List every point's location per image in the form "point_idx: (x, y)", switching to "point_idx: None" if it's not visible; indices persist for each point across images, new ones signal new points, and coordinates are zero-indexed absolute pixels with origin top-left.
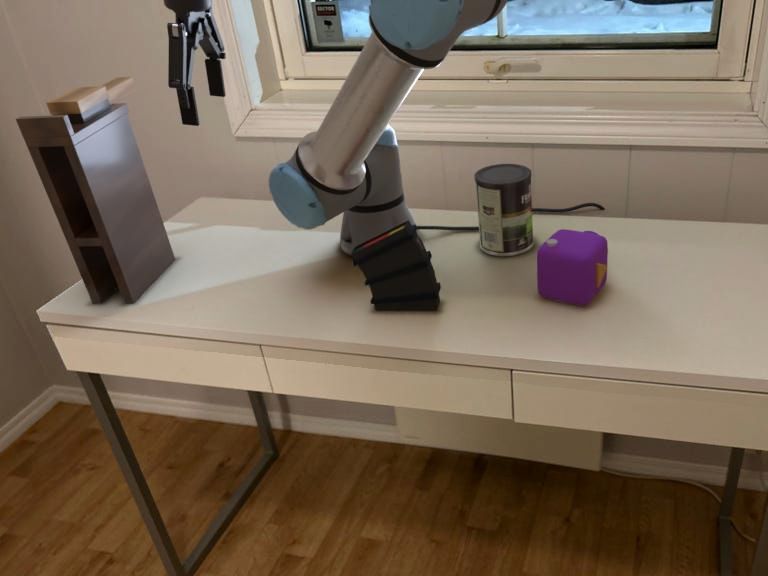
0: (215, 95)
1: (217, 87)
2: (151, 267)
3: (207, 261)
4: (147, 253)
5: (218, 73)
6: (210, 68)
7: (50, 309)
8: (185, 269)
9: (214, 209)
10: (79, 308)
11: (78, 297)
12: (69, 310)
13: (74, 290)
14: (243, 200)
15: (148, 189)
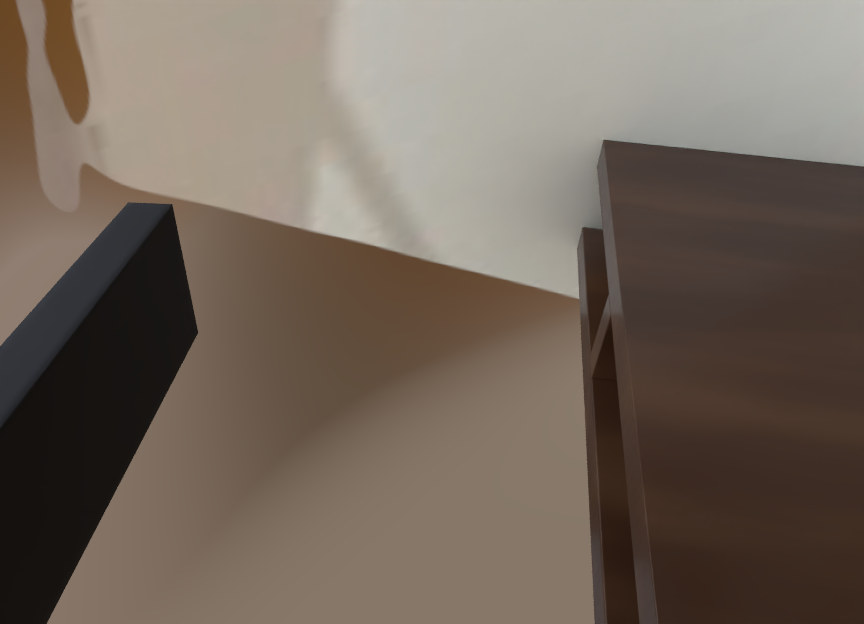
0: (184, 290)
1: (146, 311)
2: (763, 180)
3: (653, 16)
4: (769, 209)
5: (59, 395)
6: (61, 517)
7: None
8: (699, 80)
9: (194, 127)
10: None
11: None
12: None
13: None
14: (96, 39)
15: (652, 323)
